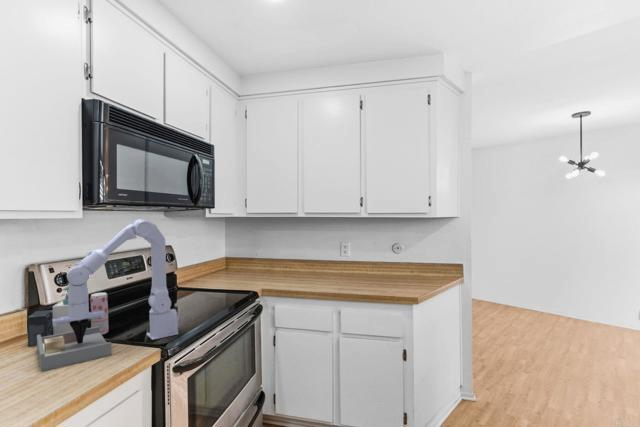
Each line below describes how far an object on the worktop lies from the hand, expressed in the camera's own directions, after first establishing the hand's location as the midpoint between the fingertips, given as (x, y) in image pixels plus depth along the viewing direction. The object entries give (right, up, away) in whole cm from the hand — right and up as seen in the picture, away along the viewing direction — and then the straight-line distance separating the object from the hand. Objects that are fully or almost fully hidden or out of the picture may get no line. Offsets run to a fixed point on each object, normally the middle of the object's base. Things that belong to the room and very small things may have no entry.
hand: (79, 342), depth 127 cm
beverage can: (-4, -3, +18) cm, 18 cm away
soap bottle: (-12, -3, +14) cm, 19 cm away
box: (-19, -3, +9) cm, 21 cm away
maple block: (-5, -1, -4) cm, 7 cm away
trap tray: (-1, -3, -1) cm, 3 cm away
